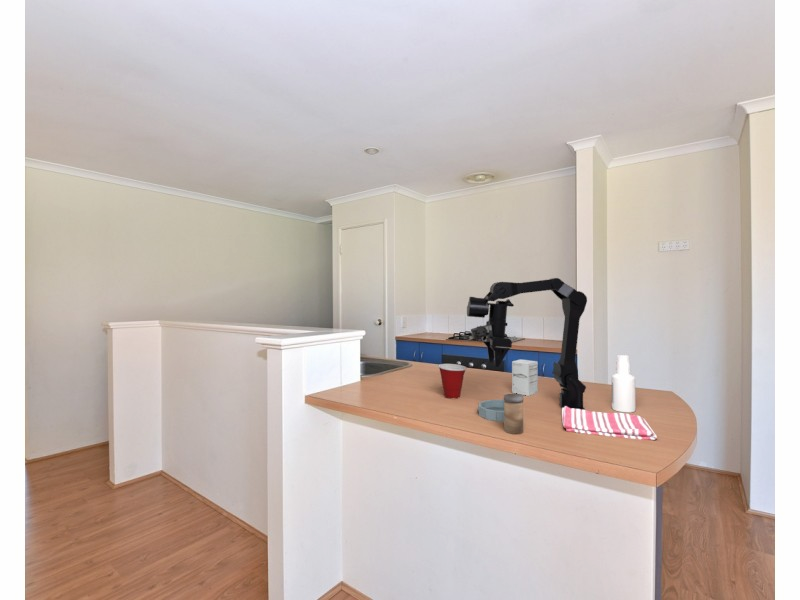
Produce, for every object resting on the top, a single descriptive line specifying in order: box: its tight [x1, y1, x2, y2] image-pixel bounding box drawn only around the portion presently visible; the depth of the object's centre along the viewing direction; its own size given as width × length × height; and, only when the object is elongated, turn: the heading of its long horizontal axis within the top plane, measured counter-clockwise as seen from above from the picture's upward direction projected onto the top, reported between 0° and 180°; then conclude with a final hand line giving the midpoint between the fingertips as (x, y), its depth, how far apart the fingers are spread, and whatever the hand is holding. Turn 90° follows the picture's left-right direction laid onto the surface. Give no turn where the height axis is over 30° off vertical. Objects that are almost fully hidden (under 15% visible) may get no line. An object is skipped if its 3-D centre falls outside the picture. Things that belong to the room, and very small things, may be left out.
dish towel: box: [561, 406, 658, 441], centre depth 115 cm, size 17×23×4 cm
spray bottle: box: [611, 354, 636, 414], centre depth 130 cm, size 7×7×18 cm
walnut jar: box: [503, 393, 524, 435], centre depth 112 cm, size 5×5×10 cm
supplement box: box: [511, 358, 539, 397], centre depth 153 cm, size 7×7×13 cm
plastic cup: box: [438, 363, 468, 399], centre depth 150 cm, size 11×11×12 cm
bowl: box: [477, 399, 504, 422], centre depth 127 cm, size 14×14×3 cm
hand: (493, 364), depth 133 cm, fingers open, 9 cm apart
